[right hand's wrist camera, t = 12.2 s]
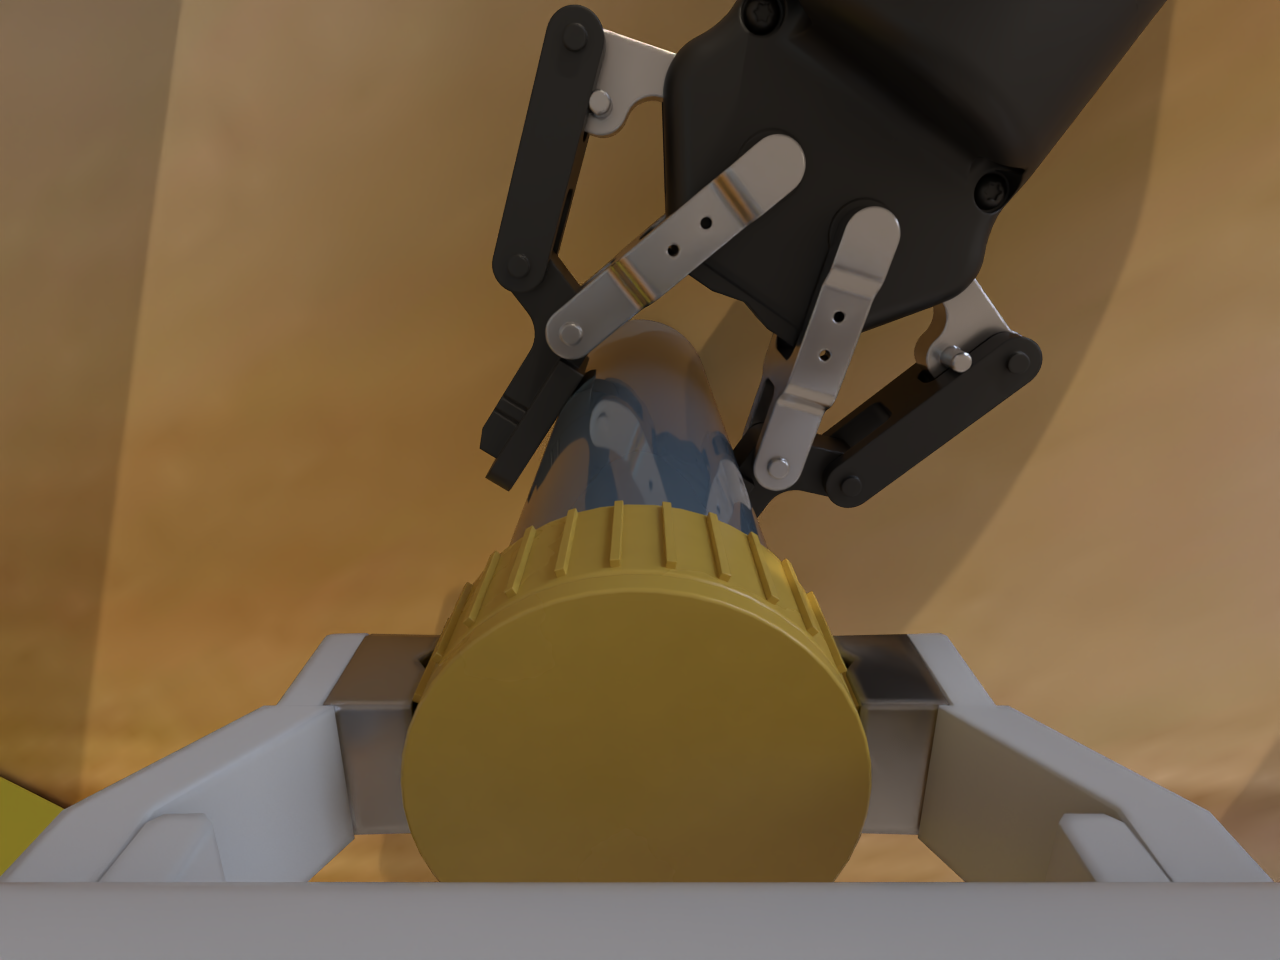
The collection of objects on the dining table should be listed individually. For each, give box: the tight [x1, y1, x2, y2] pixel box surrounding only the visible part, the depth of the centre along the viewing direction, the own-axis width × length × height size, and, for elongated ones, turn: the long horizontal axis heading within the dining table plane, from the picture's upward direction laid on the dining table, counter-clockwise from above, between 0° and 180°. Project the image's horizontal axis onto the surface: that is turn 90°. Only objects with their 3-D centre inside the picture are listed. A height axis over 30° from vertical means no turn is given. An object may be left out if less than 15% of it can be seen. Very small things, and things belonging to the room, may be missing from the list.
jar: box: [509, 320, 768, 549], centre depth 18 cm, size 4×4×19 cm
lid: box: [400, 500, 872, 882], centre depth 9 cm, size 5×5×2 cm
